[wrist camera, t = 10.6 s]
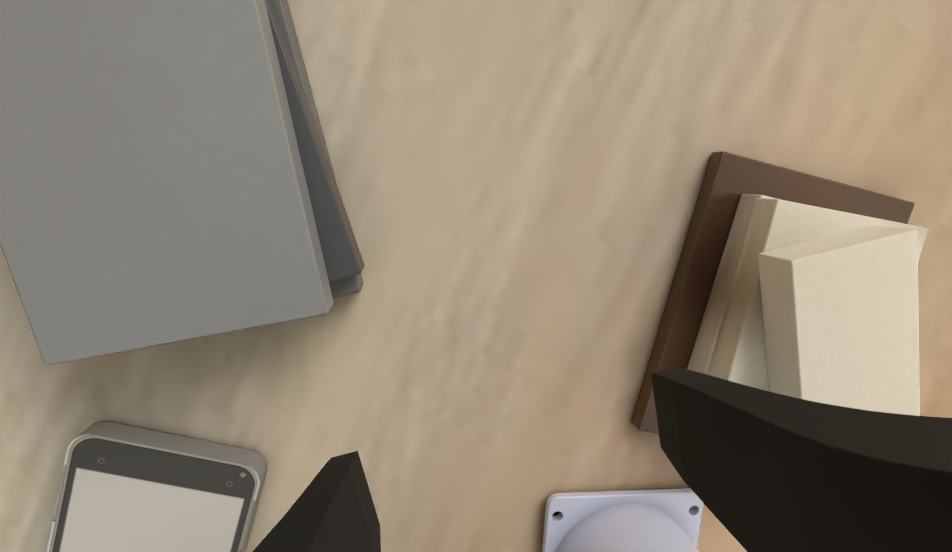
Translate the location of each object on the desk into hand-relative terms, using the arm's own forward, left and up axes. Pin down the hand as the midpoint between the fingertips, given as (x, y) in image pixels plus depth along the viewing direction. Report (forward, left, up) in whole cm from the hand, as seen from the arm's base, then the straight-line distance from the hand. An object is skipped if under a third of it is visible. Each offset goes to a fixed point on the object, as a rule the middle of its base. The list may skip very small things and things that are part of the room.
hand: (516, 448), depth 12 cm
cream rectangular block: (+1, -14, -7) cm, 16 cm away
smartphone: (-12, +14, -10) cm, 21 cm away
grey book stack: (+7, +11, -10) cm, 16 cm away
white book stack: (+1, -14, -10) cm, 18 cm away
